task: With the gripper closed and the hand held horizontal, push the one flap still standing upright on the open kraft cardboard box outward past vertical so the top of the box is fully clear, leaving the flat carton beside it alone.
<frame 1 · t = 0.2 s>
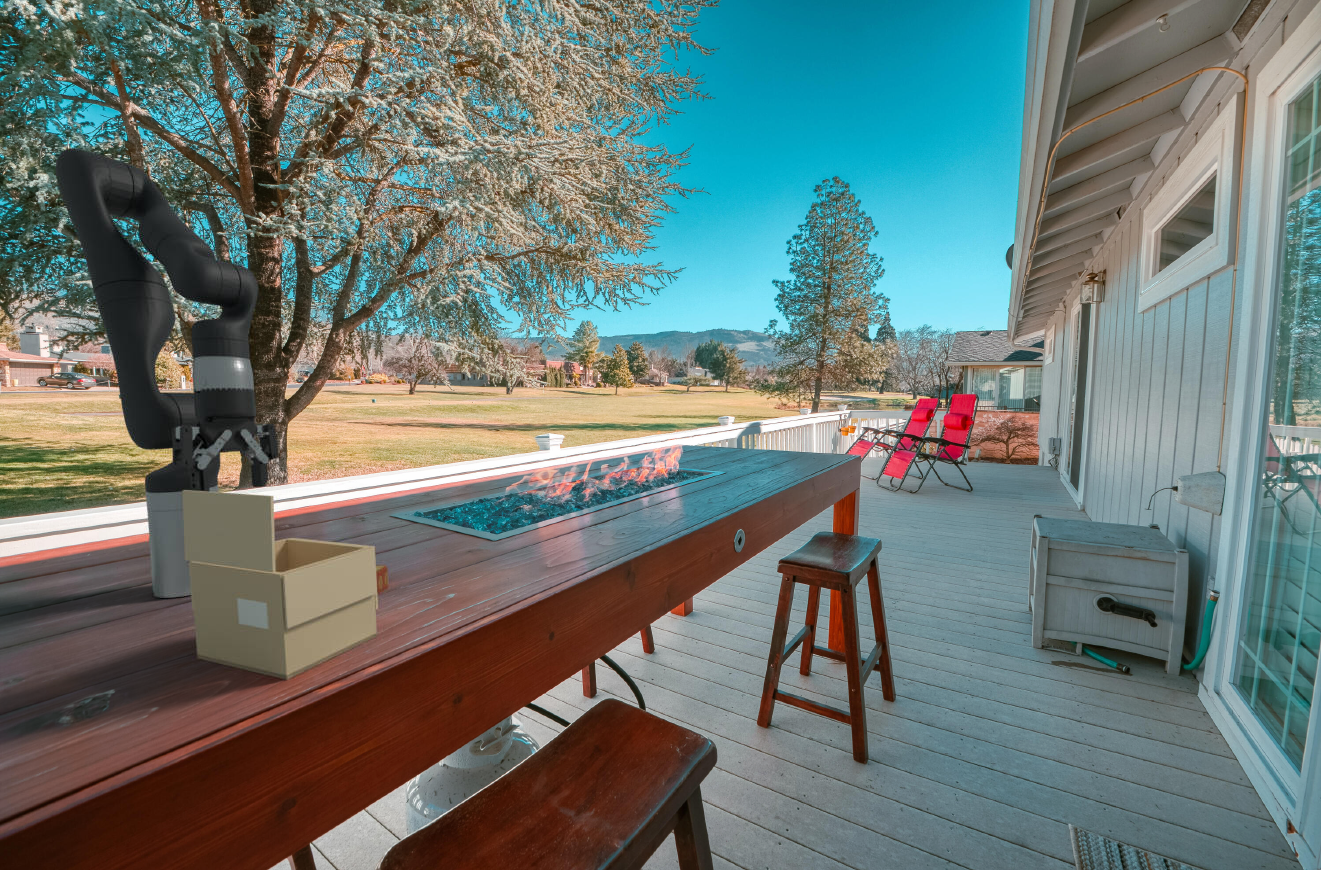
hand: (231, 490, 88), 18 cm above the table, tool pointing down, fingers open, 8 cm apart
carton: (326, 599, 89), on the table
near flap: (227, 529, 64), point 17 cm above the table, hinge at 88.0°
kraft box: (290, 646, 71), on the table
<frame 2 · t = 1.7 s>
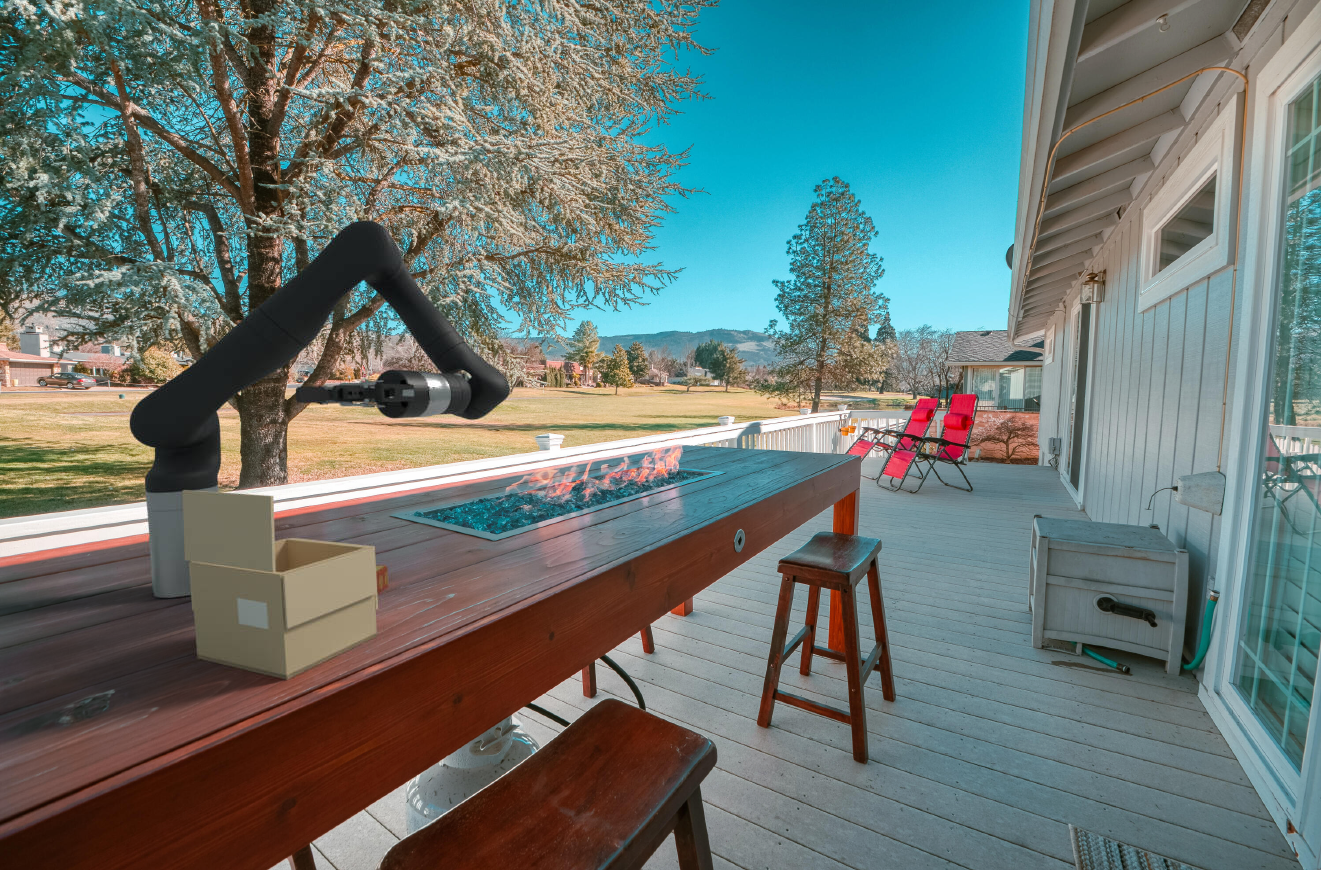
hand: (316, 394, 74), 32 cm above the table, tool horizontal, fingers open, 6 cm apart
nothing on the table moved.
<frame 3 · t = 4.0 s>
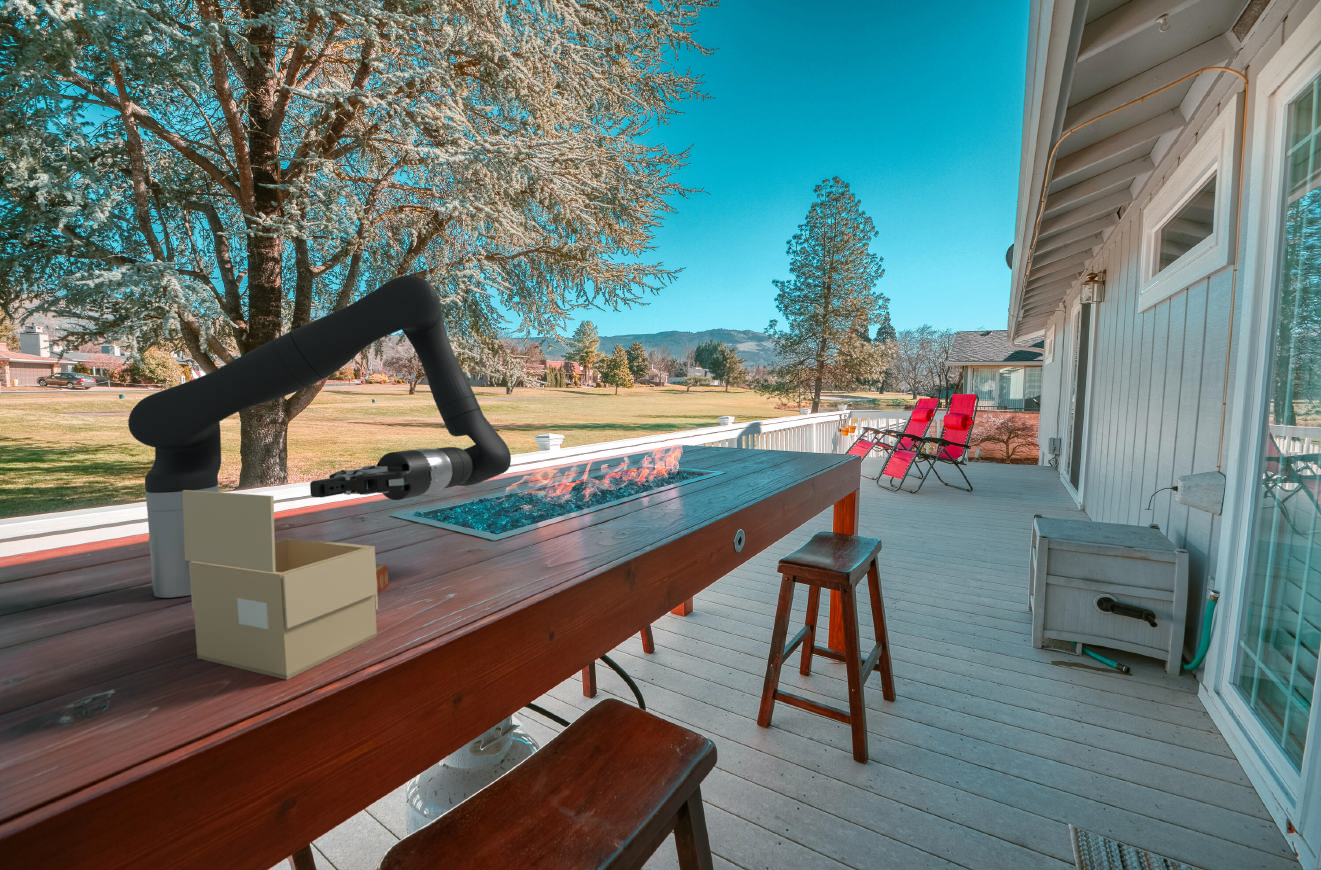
hand: (314, 489, 74), 19 cm above the table, tool horizontal, fingers closed
nothing on the table moved.
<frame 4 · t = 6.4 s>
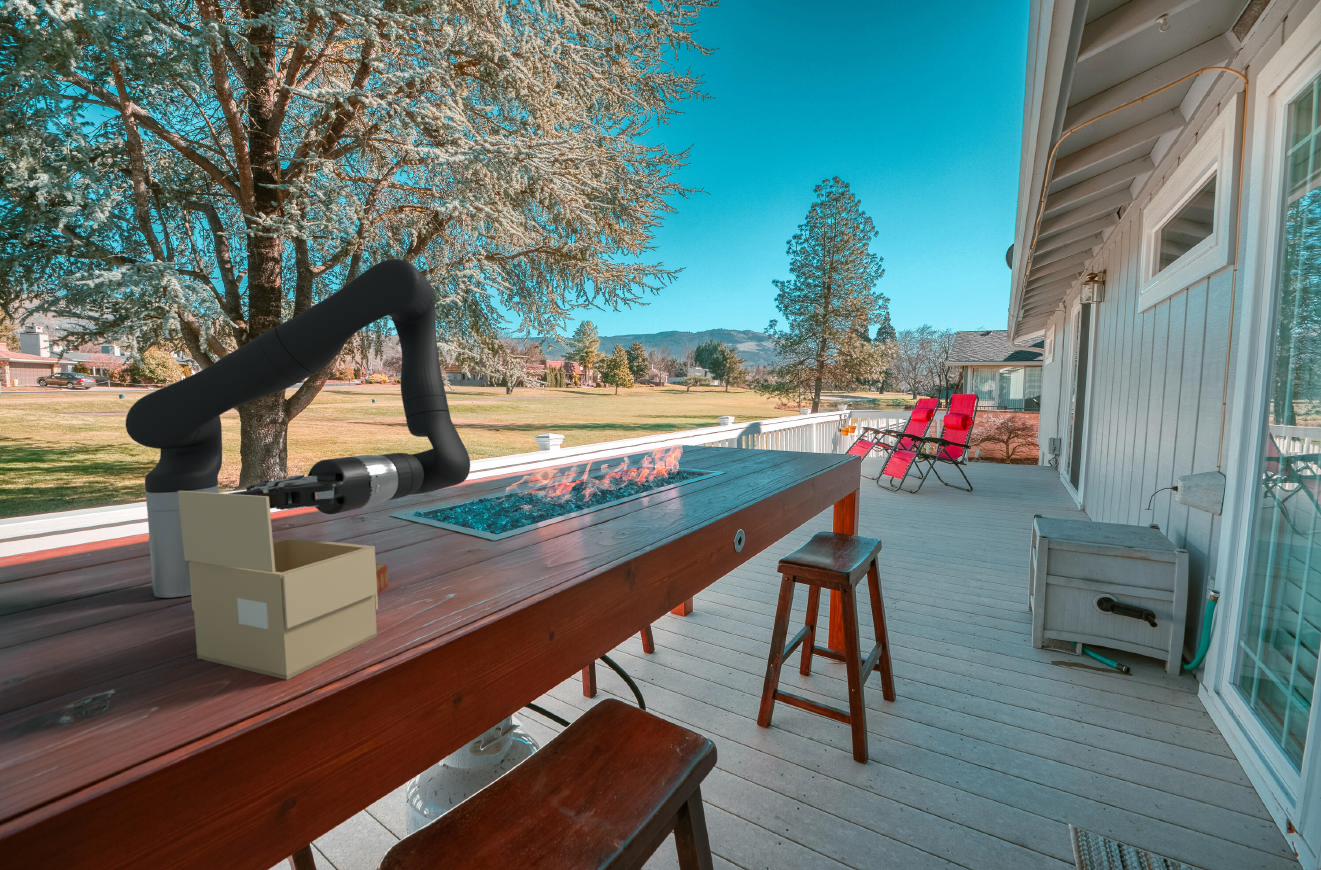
hand: (222, 504, 63), 20 cm above the table, tool horizontal, fingers closed
near flap: (224, 529, 63), point 17 cm above the table, hinge at 91.3°, touching gripper
everything else where it was.
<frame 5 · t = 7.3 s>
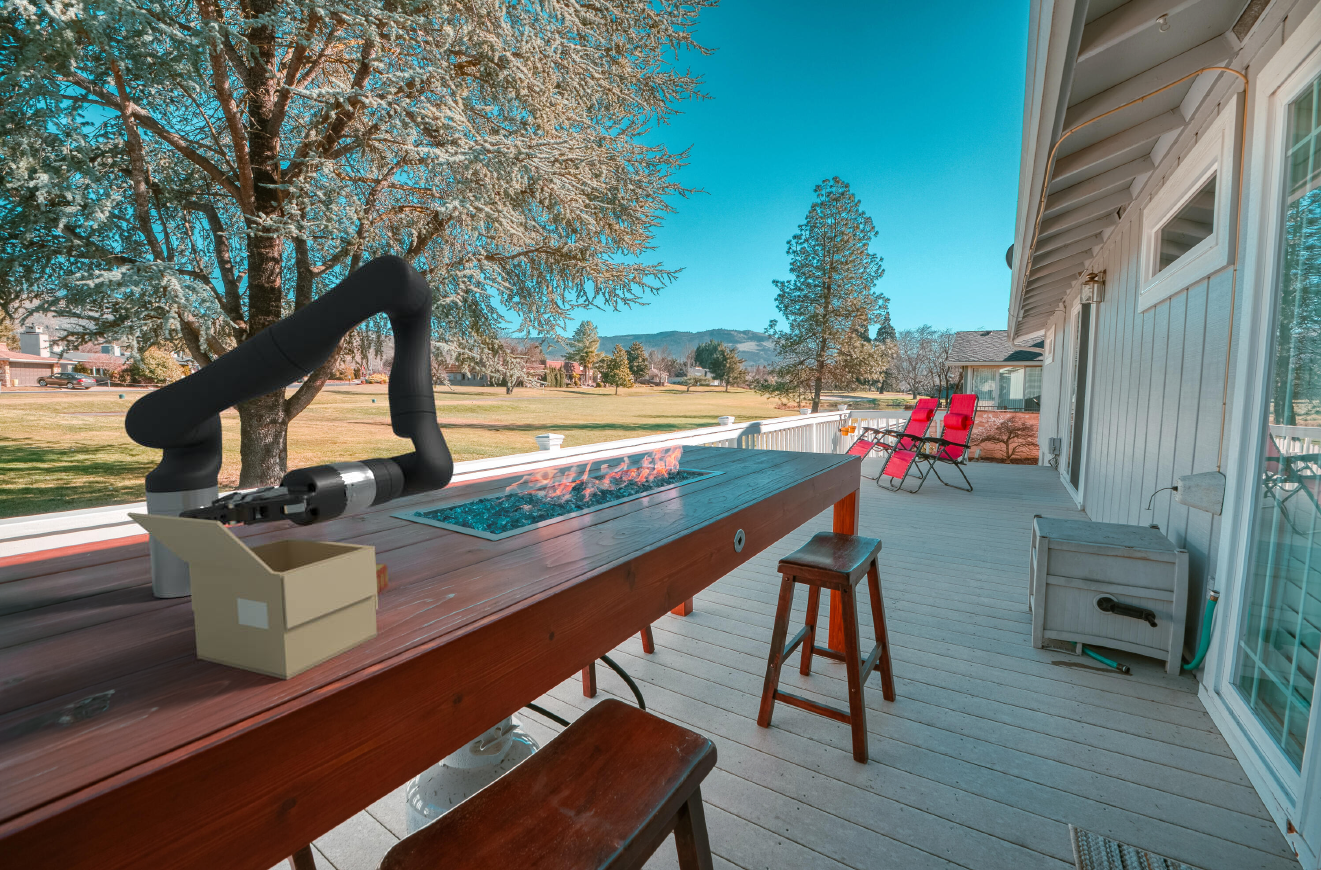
hand: (184, 522, 60), 18 cm above the table, tool horizontal, fingers closed
near flap: (200, 543, 61), point 16 cm above the table, hinge at 127.0°, touching gripper
everything else where it was.
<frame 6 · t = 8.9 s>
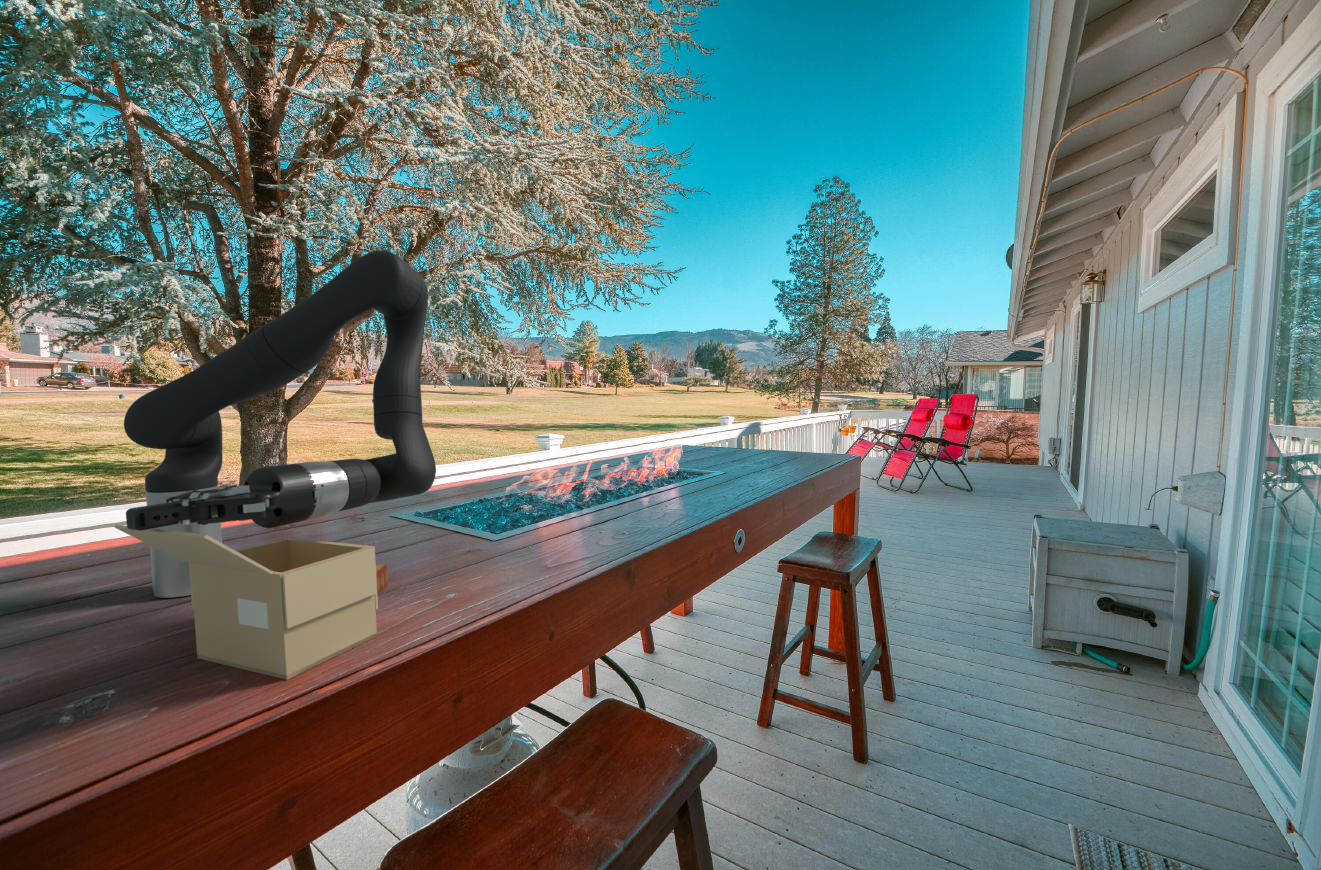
hand: (130, 520, 56), 20 cm above the table, tool horizontal, fingers closed
near flap: (194, 549, 61), point 15 cm above the table, hinge at 137.9°
everything else where it was.
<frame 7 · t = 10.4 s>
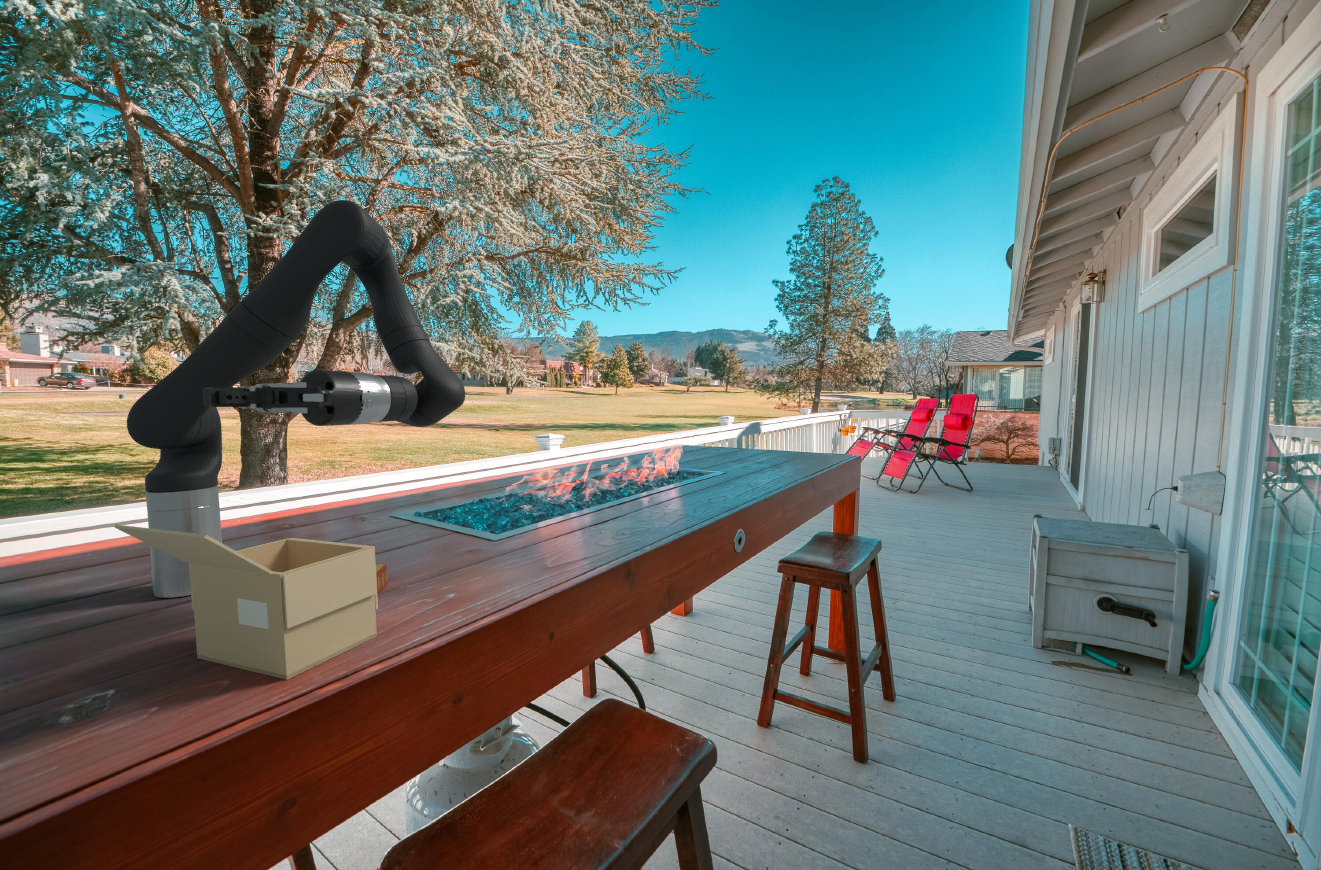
hand: (207, 397, 62), 32 cm above the table, tool horizontal, fingers closed
nothing on the table moved.
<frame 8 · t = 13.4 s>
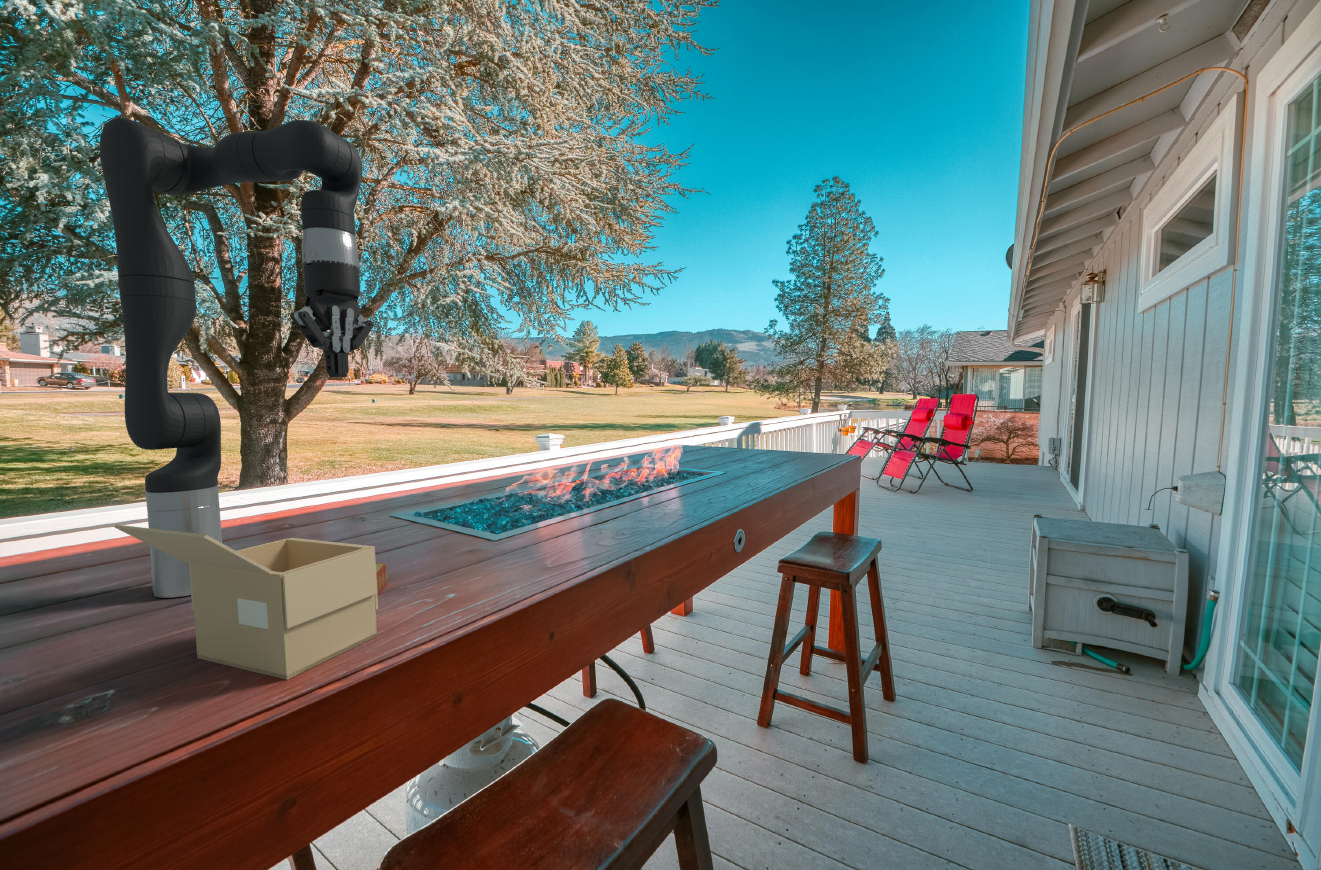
hand: (337, 377, 87), 35 cm above the table, tool pointing down, fingers closed
nothing on the table moved.
at the end: near flap at +138° (first picture: +88°) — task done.
